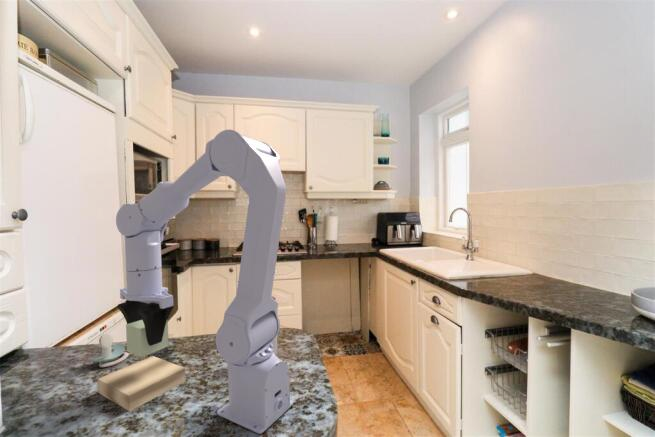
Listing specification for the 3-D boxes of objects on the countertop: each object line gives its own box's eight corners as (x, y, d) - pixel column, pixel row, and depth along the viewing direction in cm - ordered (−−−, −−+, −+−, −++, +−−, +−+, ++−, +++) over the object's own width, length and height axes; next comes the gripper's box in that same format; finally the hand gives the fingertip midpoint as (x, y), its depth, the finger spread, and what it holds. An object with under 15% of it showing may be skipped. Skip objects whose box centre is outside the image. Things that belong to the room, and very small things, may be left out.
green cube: (168, 346, 58) (167, 320, 58) (141, 357, 53) (140, 329, 53) (153, 341, 60) (153, 316, 60) (126, 351, 56) (126, 324, 56)
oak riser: (185, 383, 58) (185, 368, 58) (129, 414, 49) (129, 395, 49) (153, 369, 63) (152, 355, 63) (98, 395, 55) (97, 378, 55)
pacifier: (135, 355, 70) (112, 353, 71) (135, 328, 70) (112, 327, 71) (108, 371, 63) (83, 369, 64) (108, 342, 63) (83, 340, 64)
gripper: (187, 267, 56) (190, 339, 56) (145, 263, 64) (147, 326, 64) (149, 274, 50) (152, 355, 50) (107, 268, 58) (109, 339, 58)
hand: (146, 340), depth 57 cm, fingers closed on green cube, 5 cm apart
